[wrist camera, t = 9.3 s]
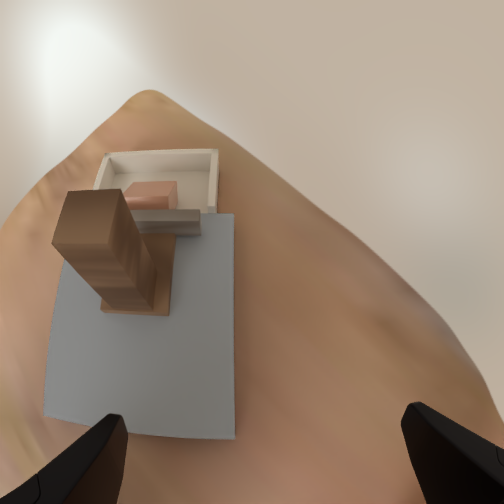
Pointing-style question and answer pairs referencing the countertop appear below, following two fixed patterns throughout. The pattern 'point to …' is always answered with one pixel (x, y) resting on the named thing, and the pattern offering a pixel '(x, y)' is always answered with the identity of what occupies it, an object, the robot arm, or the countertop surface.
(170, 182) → the tile
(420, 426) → the robot arm
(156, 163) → the tray
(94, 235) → the scraper
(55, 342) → the board
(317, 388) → the countertop surface
